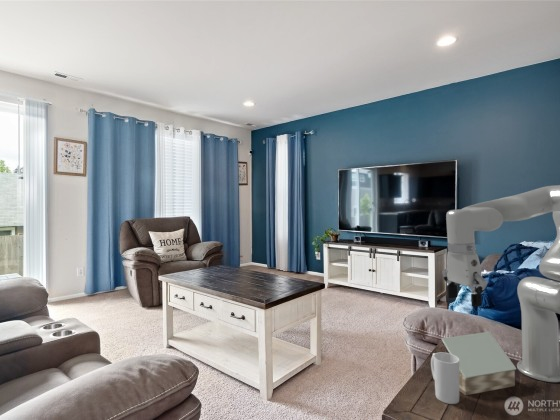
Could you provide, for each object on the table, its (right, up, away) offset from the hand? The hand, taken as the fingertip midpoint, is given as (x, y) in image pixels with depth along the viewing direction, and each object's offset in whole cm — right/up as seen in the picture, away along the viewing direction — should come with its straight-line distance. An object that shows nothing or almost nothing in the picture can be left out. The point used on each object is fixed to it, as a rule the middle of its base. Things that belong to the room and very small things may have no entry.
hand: (464, 301), depth 103 cm
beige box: (+4, -26, +1) cm, 26 cm away
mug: (-10, -26, -6) cm, 29 cm away
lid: (+4, -17, 0) cm, 17 cm away
